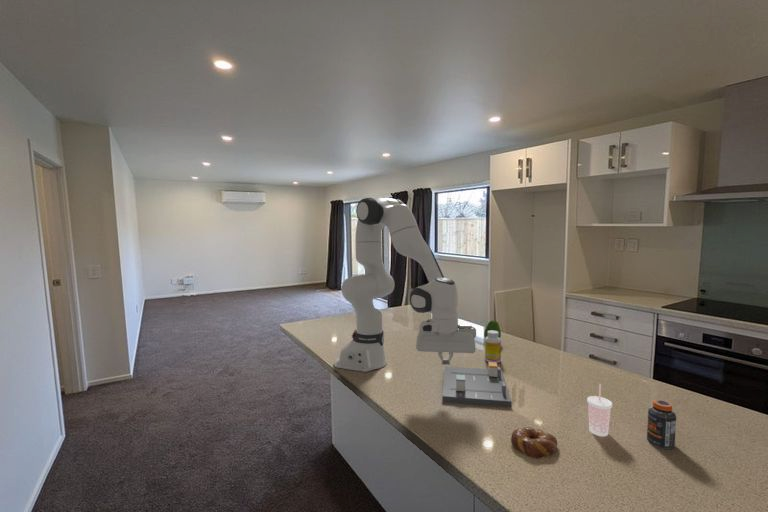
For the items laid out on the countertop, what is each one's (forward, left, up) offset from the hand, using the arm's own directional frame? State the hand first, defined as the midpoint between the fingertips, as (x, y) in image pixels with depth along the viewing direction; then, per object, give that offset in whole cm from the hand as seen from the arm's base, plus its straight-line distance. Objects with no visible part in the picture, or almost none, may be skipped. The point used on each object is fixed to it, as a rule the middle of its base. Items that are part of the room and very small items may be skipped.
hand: (445, 364), depth 124 cm
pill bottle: (+57, -19, -11) cm, 61 cm away
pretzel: (+24, -26, -11) cm, 37 cm away
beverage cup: (+43, -16, -11) cm, 47 cm away
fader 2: (+17, +14, -9) cm, 24 cm away
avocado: (+21, +58, -11) cm, 63 cm away
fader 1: (+5, 0, -8) cm, 10 cm away
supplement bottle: (+19, +35, -11) cm, 42 cm away
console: (+10, +7, -11) cm, 17 cm away
